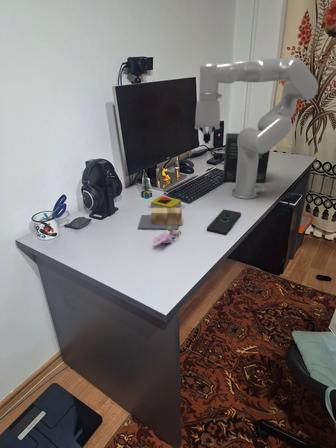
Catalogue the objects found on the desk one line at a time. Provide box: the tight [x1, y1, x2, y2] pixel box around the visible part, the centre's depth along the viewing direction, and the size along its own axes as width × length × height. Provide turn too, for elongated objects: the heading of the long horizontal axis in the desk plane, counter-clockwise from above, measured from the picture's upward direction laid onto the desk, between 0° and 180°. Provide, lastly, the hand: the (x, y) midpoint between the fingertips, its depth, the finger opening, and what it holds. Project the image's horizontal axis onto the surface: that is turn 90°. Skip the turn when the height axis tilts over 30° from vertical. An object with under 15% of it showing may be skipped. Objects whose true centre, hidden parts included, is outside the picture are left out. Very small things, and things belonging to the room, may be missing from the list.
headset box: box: [222, 132, 271, 184], centre depth 167 cm, size 22×12×26 cm, turn 84°
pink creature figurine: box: [152, 226, 182, 246], centre depth 112 cm, size 6×6×15 cm
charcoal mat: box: [137, 214, 180, 231], centre depth 126 cm, size 16×12×1 cm
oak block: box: [150, 208, 183, 226], centre depth 125 cm, size 5×5×12 cm
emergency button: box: [147, 195, 186, 210], centre depth 140 cm, size 9×4×15 cm
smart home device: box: [206, 209, 242, 236], centre depth 125 cm, size 8×2×20 cm
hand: (206, 142), depth 134 cm, fingers closed
